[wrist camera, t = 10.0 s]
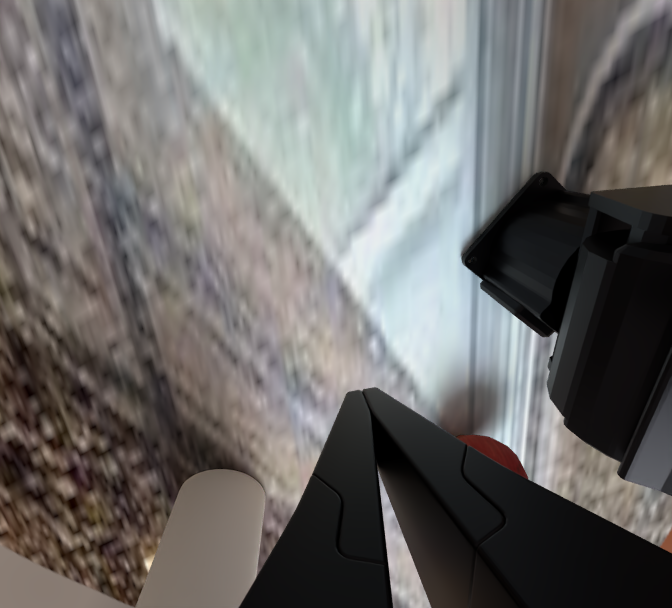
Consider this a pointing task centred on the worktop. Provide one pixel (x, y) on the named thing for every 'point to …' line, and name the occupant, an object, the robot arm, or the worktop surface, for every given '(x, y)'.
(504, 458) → the onion
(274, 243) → the worktop surface
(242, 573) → the cylindrical container
